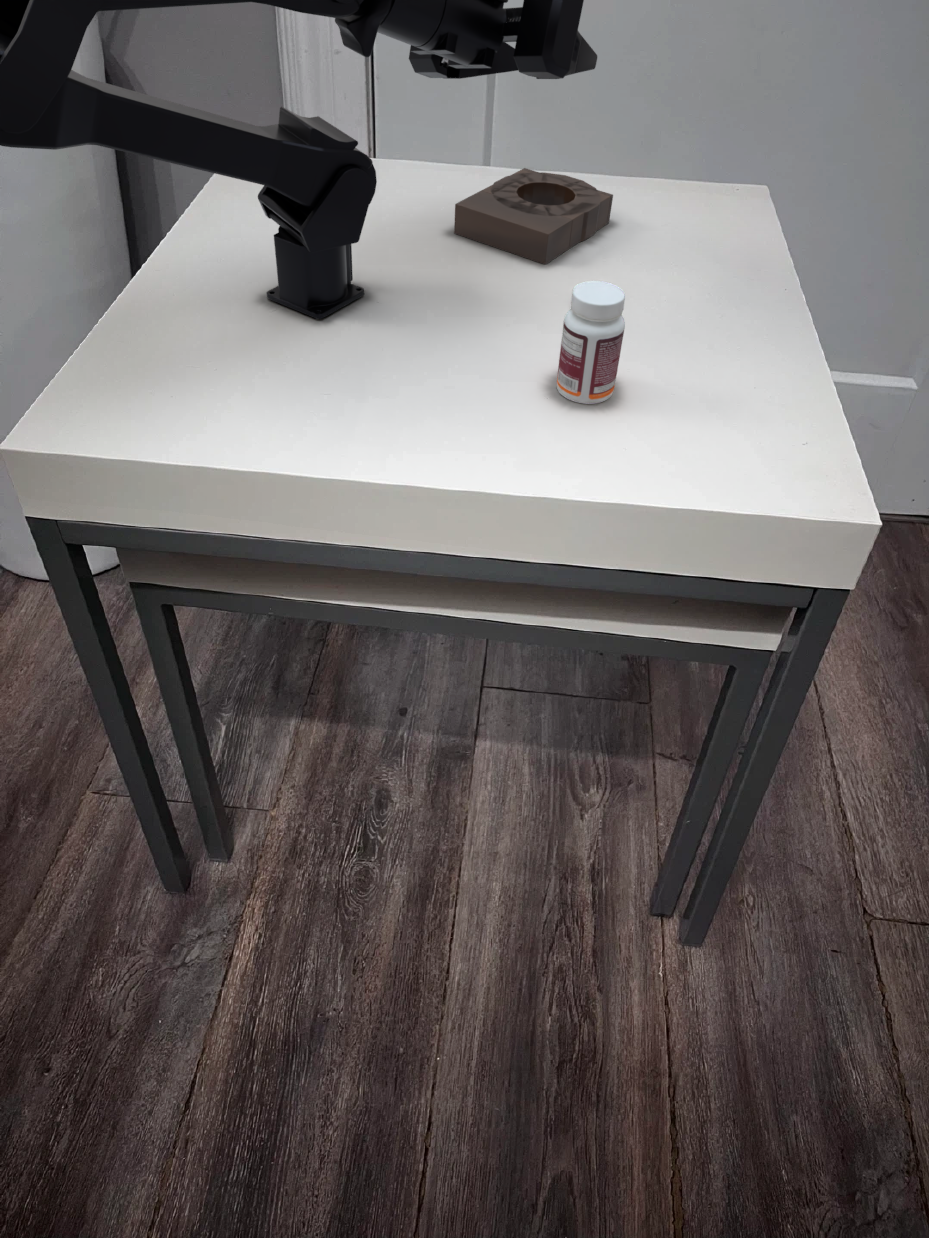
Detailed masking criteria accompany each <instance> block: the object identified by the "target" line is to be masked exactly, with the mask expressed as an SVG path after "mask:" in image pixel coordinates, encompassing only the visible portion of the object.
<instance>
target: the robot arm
mask: <svg viewBox="0 0 929 1238" xmlns="http://www.w3.org/2000/svg"><path fill="white" fill-rule="evenodd" d="M508 2H509V0H0V147H5V148H6V147H7V148H14V149H15V148H17V149H32V150H33V149H34V150H35V149H37V150H62V149H68V148H76V147H82V146H99V147H102V148H107V149H112V150H115V151H118V152H119V151H120V152H123V153H128V154H130V155H131V154H132V155H137V156H140V157H145V158H149V159H152V160H157V161H161V162H165V163H169V164H173V165H178V166H181V167H186V168H190V169H194V170H199V171H203V172H207V173H211V174H215V175H219V176H222V177H223V176H224V177H228V178H232V179H235V180H236V179H237V180H241V181H245V182H248V183H253V184H257V185H261V186H262V188H261V190H260V191H259V192H258V194H257V199H258V202H259V204H260V207H261V209H262V211H263V213H264V215H265V217H267V218H268V219H270V220H271V221H273V222H275V224H277V225H278V229H277V231H278V232H277V233H275V234H273V244H274V253H275V264H276V275H277V286H275V287H273V288H271V289H269V290H267V291H266V298H267V299H268V300H270V301H273V302H274V303H277V304H280V305H281V306H284V307H287V308H290V309H292V310H295V311H297V312H298V313H302V314H304V315H307V316H309V317H312V318H314V319H318V320H319V319H324V318H325V317H327V316H329V315H331V314H333V313H334V312H336V311H338V310H340V309H342V308H344V307H345V306H347V305H349V304H351V303H352V302H354V301H356V300H358V299H359V298H361V297H363V296H364V295H365V288H364V287H362V286H359V285H356V284H355V283H352V281H353V279H354V277H353V251H352V245H353V244H357V243H358V242H359V241H360V239H361V236H362V231H363V228H364V224H365V220H366V217H367V213H368V211H369V210H368V209H369V206H370V204H371V203H372V201H373V198H374V196H375V194H376V189H377V182H378V180H377V171H376V169H375V166H374V164H373V160H372V159H371V158H370V156H369V155H367V154H366V153H365V152H363V151H362V150H360V149H359V148H357V147H358V145H359V141H358V140H357V139H354V137H352V136H350V135H348V134H347V133H346V132H344V131H342V130H341V129H339V128H337V127H336V126H334V125H333V124H332V123H329V121H326V120H325V119H324V118H322V117H321V116H319V115H317V116H311V117H308V116H307V117H306V116H301V115H299V114H296V113H295V112H293V111H291V110H289V109H287V108H286V107H284V106H280V107H279V113H278V123H276V124H270V125H263V126H261V125H255V124H251V123H248V122H244V121H241V120H237V119H233V118H230V117H227V116H223V115H220V114H216V113H213V112H209V111H206V110H202V109H199V108H195V107H192V106H189V105H184V104H181V103H177V102H174V101H171V100H167V99H164V98H161V97H157V96H153V95H150V94H146V93H143V92H139V91H136V90H132V89H128V88H124V87H121V86H118V85H114V84H110V83H107V82H105V81H104V82H103V81H100V80H97V79H93V78H89V77H88V76H87V77H86V76H85V75H83V74H81V73H79V72H77V71H75V70H73V67H74V64H75V62H76V59H77V56H78V53H79V50H80V48H81V45H82V42H83V39H84V37H85V34H86V31H87V29H88V27H89V25H90V24H91V22H92V21H93V19H94V18H95V16H96V15H97V13H98V12H111V11H128V10H144V9H145V10H146V9H161V8H177V7H178V8H179V7H192V6H194V7H195V6H209V5H227V4H228V5H229V4H242V3H244V4H245V3H255V4H261V5H268V6H272V7H276V8H279V9H284V10H288V11H292V12H297V13H300V14H307V15H313V16H320V17H321V16H322V17H327V18H333V19H334V23H335V24H336V26H337V27H338V29H339V34H340V38H341V42H342V45H343V46H344V47H345V48H348V49H349V50H350V51H353V52H355V53H357V54H359V55H360V56H363V57H364V58H370V57H371V56H372V54H373V49H374V46H375V42H376V38H377V35H378V34H381V35H384V36H385V37H389V38H391V39H394V40H397V41H399V42H402V43H405V44H407V45H410V47H409V54H408V61H409V62H410V65H411V67H412V69H413V72H414V73H416V74H418V75H420V76H423V77H426V78H428V79H446V80H447V79H448V80H449V79H450V80H452V79H453V80H456V79H457V80H460V79H468V78H475V77H480V76H481V77H482V76H487V75H495V74H496V75H497V74H503V73H509V72H511V73H512V72H516V71H518V73H520V74H523V75H525V76H528V77H532V78H533V77H534V78H536V79H537V80H561V79H564V78H565V77H566V76H570V75H575V74H579V73H584V72H587V71H592V70H595V69H596V66H597V63H598V54H597V53H596V51H595V50H594V49H593V47H591V45H590V44H589V43H588V41H587V40H586V39H585V37H584V36H583V35H582V33H580V31H579V25H580V22H581V17H582V11H583V6H584V2H585V0H523V3H522V6H519V7H505V8H504V5H505V4H506V3H508ZM509 43H515V45H514V47H513V46H512V45H510V44H509Z"/></svg>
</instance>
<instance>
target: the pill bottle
mask: <svg viewBox="0 0 929 1238" xmlns="http://www.w3.org/2000/svg"><path fill="white" fill-rule="evenodd" d="M625 301H626V293H625V291H624V290H623V289H622V288H621V287H619V285H616V284H614V283H611V282H608V281H603V280H587V281H583V282H580V283H578V284H576V285H575V286H574V287H573V288H572V292H571V298H570V309H569V310H568V311H567V312H566V314H565V315H564V318H563V324H562V325H563V326H562V333H561V334H562V335H561V342H560V351H559V357H558V358H559V359H558V367H557V376H556V389H557V391H558V393H559V394H560V395H561V396H562V397H563V398H565V399H567V400H569V401H572V402H575V403H580V404H587V405H593V404H600V403H602V402H604V401H607V400H608V399H610V398H611V397H612V396H613V394H614V391H615V386H616V381H617V375H618V370H619V364H620V358H621V351H622V346H623V339H624V334H625V329H626V321H625V317H624V316H623V312H624V309H625Z"/></svg>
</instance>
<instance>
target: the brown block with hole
mask: <svg viewBox="0 0 929 1238" xmlns="http://www.w3.org/2000/svg"><path fill="white" fill-rule="evenodd" d="M613 199H614V194H613V193H609V192H605V191H603V190H599V189H597V188H596V187H595V186H593V185H592V184H590V183H588V182H586V181H585V180H583V179H579V178H576V177H572V176H569V175H565V174H559V173H551V172H544V171H543V172H539V171H535V170H533V169H529V168H526V167H524V168H521V169H520V170H517V171H516V172H514V173H512V174H510V175H506V176H504V177H502V178H500V179H498V180H496V181H495V182H493V184H491V185H489V186H487V187H485V188H483V189H482V190H479V191H478V192H476V193H473V194H471V195H469V196H468V197H466V198H464V199H462V200H460V201H458V202H457V203H455V204H454V225H453V233H454V234H455V235H458V236H461V237H464V238H467V239H469V240H471V241H476V242H477V243H481V244H484V245H487V246H490V247H492V248H496V249H498V250H502V251H505V252H507V253H511V254H513V255H517V256H518V257H522V258H525V259H528V260H531V261H534V262H537V263H540V264H543V265H547V264H548V263H550V262H552V261H553V260H555V259H556V258H557V257H559V256H561V255H562V254H564V253H565V252H567V251H568V250H570V249H571V248H573V247H574V246H576V245H578V244H579V243H581V242H584V241H587V240H588V239H590V238H591V237H592V236H594V235H595V234H596V233H597V232H598V231H599V230H601V229H602V228H604V227H605V226H607V225H609V224H610V220H611V219H610V218H611V214H612V213H611V212H612V205H613Z"/></svg>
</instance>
